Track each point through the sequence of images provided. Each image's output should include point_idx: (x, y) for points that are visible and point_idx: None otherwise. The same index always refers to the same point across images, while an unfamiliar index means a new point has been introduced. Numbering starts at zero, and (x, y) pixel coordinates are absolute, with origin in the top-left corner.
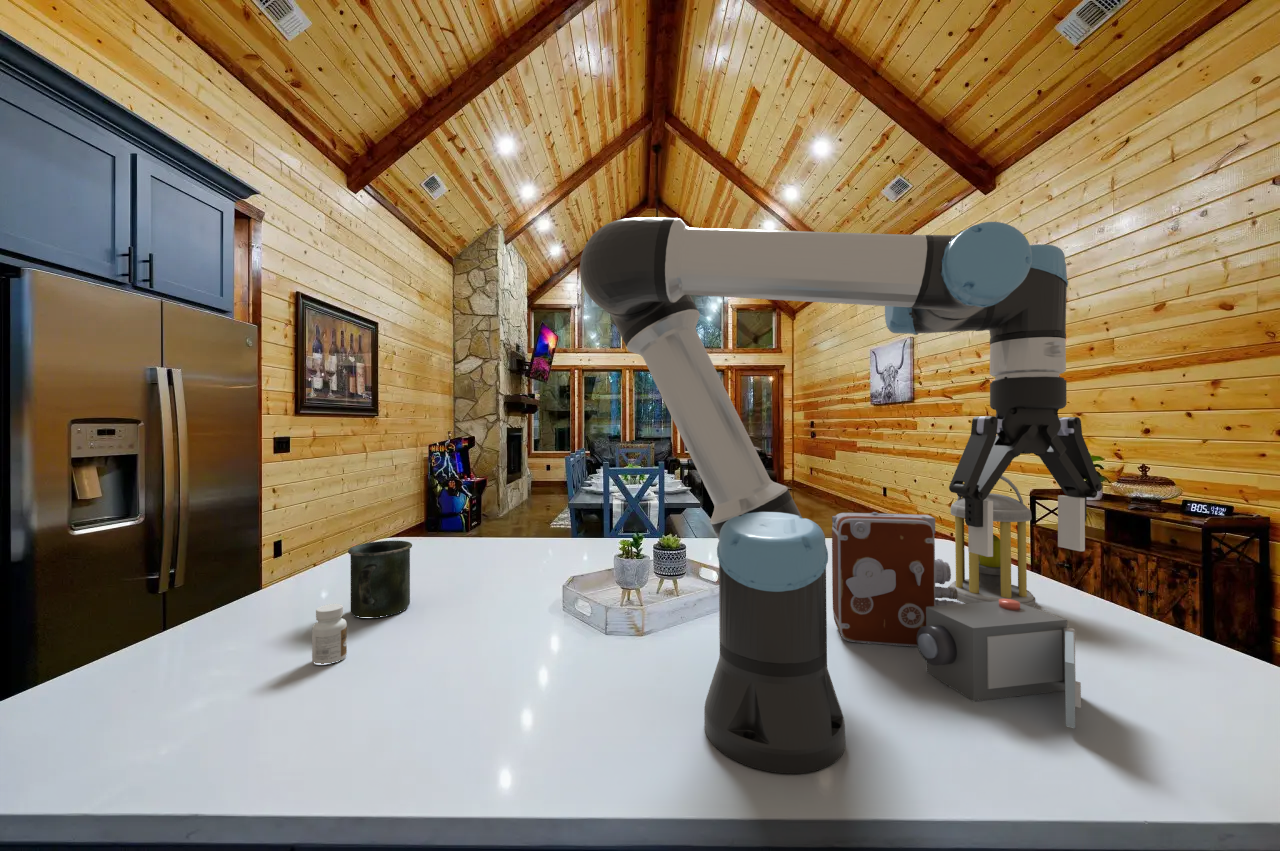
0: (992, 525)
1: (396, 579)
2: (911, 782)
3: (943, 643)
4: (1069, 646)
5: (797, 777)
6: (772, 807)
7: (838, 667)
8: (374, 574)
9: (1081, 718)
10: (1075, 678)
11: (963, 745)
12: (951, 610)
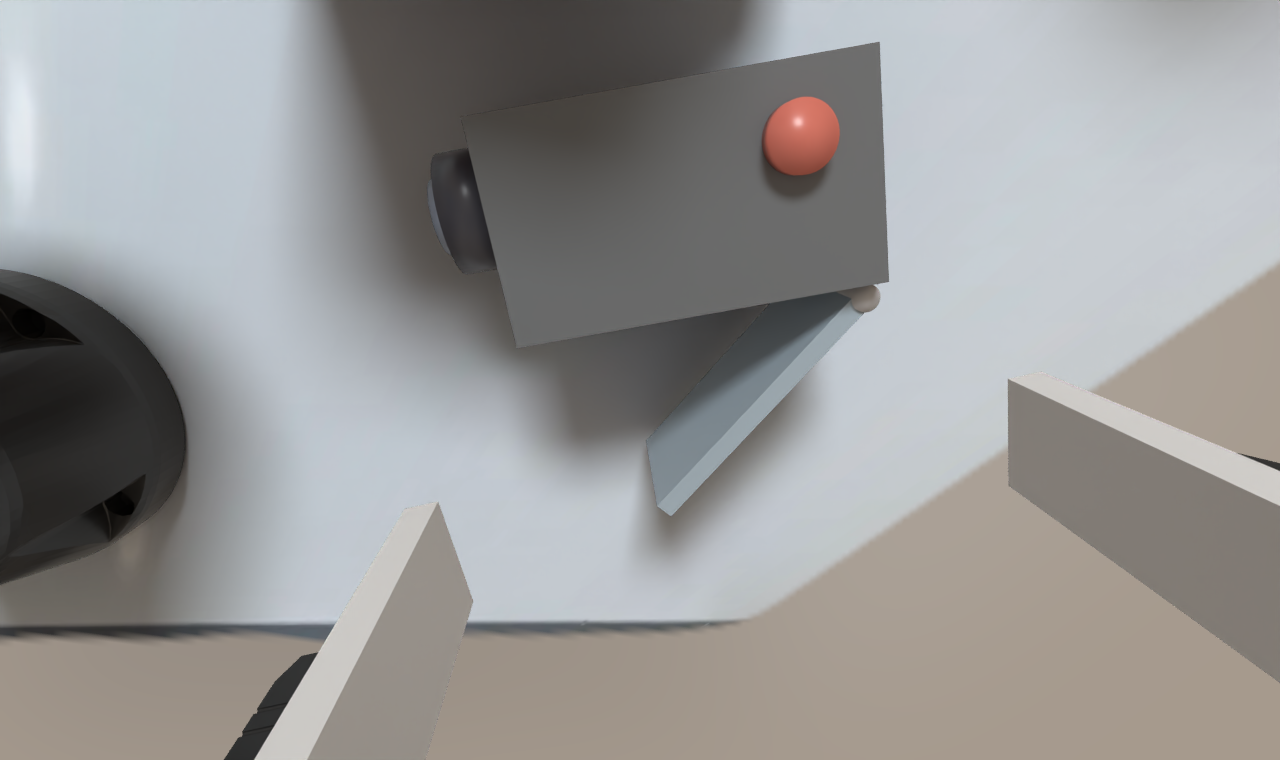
0: (429, 736)
1: None
2: (280, 554)
3: (467, 270)
4: (752, 417)
5: None
6: (36, 606)
7: (244, 92)
8: None
9: None
10: None
11: (422, 461)
12: (542, 167)
